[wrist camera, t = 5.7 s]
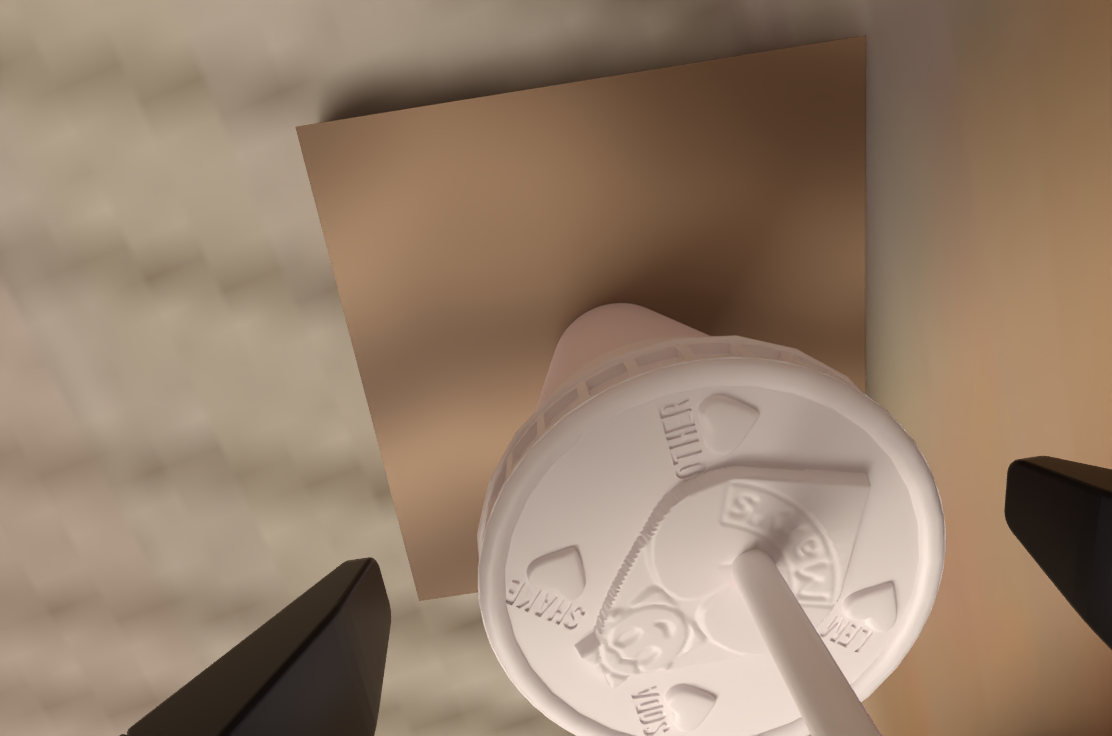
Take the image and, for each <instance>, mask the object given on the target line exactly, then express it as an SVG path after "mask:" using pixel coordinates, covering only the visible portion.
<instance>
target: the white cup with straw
mask: <svg viewBox="0 0 1112 736" xmlns="http://www.w3.org/2000/svg"><path fill="white" fill-rule="evenodd" d="M477 541H478V553H479V565H478V594H479V604H480V610H481V615H482V619H483V624H484V628H485V630H486V633H487V636H488V639H489V642H490V645H491V647H492V649H493V651H494V653H495V655H496V657H497V659H498V661H499V663H500V665H501V666H502V668H503V669H504V671H505V673H506V674H507V676H508V677H509V679H510V680H511V681H512V682H513V684H514V685H515V686H516V687H517V689H518V690H519V691H520V692H521V694H522V695H523V696H524V697H525V698H526V699H527V700H528V701H529V702H530V703H531V704H532V705H533V706H534V707H536V708H537V709H538V710H539V711H540V712H542V713H543V714H544V715H545V716H546V717H548V718H549V719H550V720H552V721H553V722H555V723H556V724H558V725H559V726H561V727H562V728H564V729H565V730H567V731H569V732H571V733H573V734H574V735H576V736H808V735H810V734H811V736H882V735H881V734H880V732H879V731H878V729H877V727H876V726H875V724H874V723H873V721H872V719H871V718H870V716H869V715H868V713H867V711H866V710H865V708H864V706H863V705H862V703H861V702H862V701H863V700H865V699H866V698H867V697H869V696H870V695H871V694H872V693H873V692H874V691H875V690H876V689H877V688H878V687H879V686H880V685H881V683H882V682H884V681H885V679H886V678H887V677H888V676H889V675H890V674H891V673H892V672H893V671H894V670H895V669H896V668H897V667H898V666H899V664H900V663H901V661H902V660H903V658H904V657H905V655H906V654H907V653H908V651H909V650H910V649H911V647H912V645H913V644H914V642H915V641H916V639H917V638H918V636H919V635H920V633H921V631H922V629H923V627H924V625H925V623H926V621H927V619H928V617H929V615H930V612H931V609H932V607H933V604H934V602H935V599H936V597H937V593H938V589H939V585H940V582H941V578H942V573H943V566H944V560H945V545H946V532H945V518H944V512H943V507H942V502H941V497H940V494H939V491H938V487H937V484H936V481H935V478H934V476H933V474H932V472H931V469H930V467H929V465H928V463H927V461H926V459H925V457H924V456H923V454H922V452H921V451H920V449H919V447H918V446H917V444H916V443H915V441H914V440H913V439H912V437H911V436H910V435H909V434H908V432H907V431H906V430H905V429H904V427H903V426H902V425H901V424H900V423H899V422H898V421H897V420H896V419H895V418H894V417H893V416H892V415H891V414H890V413H889V412H888V411H887V410H886V409H884V408H883V407H882V406H880V405H879V404H878V403H877V402H875V401H874V400H873V399H871V398H870V397H869V396H867V395H866V394H864V393H863V392H862V391H861V390H860V389H859V388H858V387H857V386H856V385H855V384H854V383H853V382H852V381H851V380H850V379H849V378H848V377H847V376H846V375H844V374H842V373H840V372H838V371H836V370H835V369H833V368H831V367H829V366H827V365H825V364H823V363H822V362H820V361H818V360H816V359H814V358H812V357H811V356H809V355H807V354H805V353H803V352H801V351H799V350H798V349H796V348H791V347H786V346H782V345H777V344H773V343H768V342H764V341H759V340H755V339H750V338H746V337H741V336H736V335H733V336H709V335H707V334H705V333H702V332H700V331H698V330H696V329H693V328H691V327H689V326H686V325H684V324H682V323H680V322H677V321H675V320H673V319H670V318H668V317H666V316H664V315H661V314H659V313H657V312H654V311H652V310H650V309H647V308H645V307H642V306H639V305H635V304H629V303H613V304H607V305H603V306H599V307H596V308H594V309H592V310H590V311H588V312H586V313H584V314H583V315H581V316H580V317H578V318H577V319H576V320H575V321H574V322H572V323H571V325H570V326H569V327H568V328H567V329H566V330H565V332H564V333H563V335H562V336H561V338H560V340H559V342H558V344H557V346H556V349H555V352H554V355H553V358H552V361H551V364H550V367H549V370H548V373H547V376H546V380H545V383H544V386H543V389H542V392H541V395H540V398H539V401H538V404H537V407H536V410H535V413H534V414H533V415H532V416H531V417H530V418H529V419H528V420H527V421H526V422H525V423H524V424H523V425H522V426H521V427H520V428H519V429H518V430H517V432H516V433H515V435H514V436H513V438H512V440H511V442H510V444H509V445H508V447H507V449H506V451H505V453H504V455H503V456H502V458H501V460H500V462H499V464H498V465H497V467H496V469H495V471H494V473H493V475H492V476H491V478H490V480H489V482H488V486H487V491H486V495H485V500H484V504H483V509H482V513H481V518H480V522H479V527H478V531H477Z"/></svg>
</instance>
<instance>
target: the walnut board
mask: <svg viewBox="0 0 1112 736" xmlns="http://www.w3.org/2000/svg"><path fill="white" fill-rule="evenodd" d="M296 131H297V135H298V138H299V142H300V146H301V150H302V154H303V158H304V161H305V165H306V169H307V173H308V177H309V180H310V184H311V188H312V192H313V196H314V200H315V203H316V207H317V211H318V215H319V219H320V223H321V226H322V230H323V234H324V238H325V242H326V246H327V249H328V253H329V257H330V261H331V265H332V269H333V272H334V276H335V280H336V284H337V288H338V292H339V295H340V299H341V303H342V307H343V311H344V315H345V318H346V322H347V326H348V330H349V334H350V338H351V341H352V345H353V349H354V353H355V357H356V360H357V364H358V368H359V372H360V376H361V380H362V383H363V387H364V391H365V395H366V399H367V403H368V406H369V410H370V414H371V418H372V422H373V426H374V429H375V433H376V437H377V441H378V445H379V449H380V452H381V456H382V460H383V464H384V468H385V472H386V475H387V479H388V483H389V487H390V491H391V495H392V498H393V502H394V506H395V510H396V514H397V518H398V521H399V525H400V529H401V533H402V537H403V540H404V544H405V548H406V552H407V556H408V560H409V563H410V567H411V571H412V575H413V579H414V583H415V586H416V590H417V594H418V598H419V601H422V600H429V599H435V598H442V597H449V596H455V595H462V594H469V593H475V592H478V565H479V553H478V541H477V531H478V527H479V522H480V518H481V513H482V509H483V504H484V500H485V495H486V491H487V486H488V482H489V480H490V478H491V476H492V475H493V473H494V471H495V469H496V467H497V465H498V464H499V462H500V460H501V458H502V456H503V455H504V453H505V451H506V449H507V447H508V445H509V444H510V442H511V440H512V438H513V436H514V435H515V433H516V432H517V430H518V429H519V428H520V427H521V426H522V425H523V424H524V423H525V422H526V421H527V420H528V419H529V418H530V417H531V416H532V415H533V414H534V413H535V410H536V407H537V404H538V401H539V398H540V395H541V392H542V389H543V386H544V383H545V380H546V376H547V373H548V370H549V367H550V364H551V361H552V358H553V355H554V352H555V349H556V346H557V344H558V342H559V340H560V338H561V336H562V335H563V333H564V332H565V330H566V329H567V328H568V327H569V326H570V325H571V323H572V322H574V321H575V320H576V319H577V318H578V317H580V316H581V315H583V314H584V313H586V312H588V311H590V310H592V309H594V308H596V307H599V306H603V305H607V304H613V303H629V304H635V305H639V306H642V307H645V308H647V309H650V310H652V311H654V312H657V313H659V314H661V315H664V316H666V317H668V318H670V319H673V320H675V321H677V322H680V323H682V324H684V325H686V326H689V327H691V328H693V329H696V330H698V331H700V332H702V333H705V334H707V335H709V336H733V335H736V336H741V337H746V338H750V339H755V340H759V341H764V342H768V343H773V344H777V345H782V346H786V347H791V348H796V349H798V350H799V351H801V352H803V353H805V354H807V355H809V356H811V357H812V358H814V359H816V360H818V361H820V362H822V363H823V364H825V365H827V366H829V367H831V368H833V369H835V370H836V371H838V372H840V373H842V374H844V375H846V376H847V377H848V378H849V379H850V380H851V381H852V382H853V383H854V384H855V385H856V386H857V387H858V388H859V389H860V390H861V391H862V392H863V393H864V394H866V35H863V36H857V37H851V38H845V39H839V40H832V41H826V42H820V43H814V44H807V45H801V46H795V47H789V48H783V49H776V50H770V51H764V52H758V53H752V54H745V55H739V56H733V57H727V58H720V59H714V60H708V61H702V62H696V63H689V64H683V65H677V66H671V67H665V68H658V69H652V70H646V71H640V72H633V73H627V74H621V75H615V76H609V77H602V78H596V79H590V80H584V81H578V82H571V83H565V84H559V85H553V86H546V87H540V88H534V89H528V90H522V91H515V92H509V93H503V94H497V95H491V96H484V97H478V98H472V99H466V100H459V101H453V102H447V103H441V104H435V105H428V106H422V107H416V108H410V109H403V110H397V111H391V112H385V113H379V114H372V115H366V116H360V117H354V118H348V119H341V120H335V121H329V122H323V123H316V124H310V125H304V126H298V127H296Z"/></svg>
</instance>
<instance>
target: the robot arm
mask: <svg viewBox="0 0 1112 736" xmlns="http://www.w3.org/2000/svg"><path fill="white" fill-rule="evenodd" d="M1005 518H1006V521H1007V524H1008V526H1009V528H1010V530H1011V531H1012V532H1013V534H1014V535H1015V536H1016V537H1017V539H1018V540H1019V541H1020V542H1021V544H1022V545H1023V546H1024V547H1025V549H1026V550H1027V551H1028V552H1029V554H1030V555H1031V556H1032V557H1033V559H1034V560H1035V561H1036V562H1037V564H1038V565H1039V566H1040V567H1041V569H1042V570H1043V571H1044V572H1045V573H1046V575H1047V576H1048V577H1049V578H1050V580H1051V581H1052V582H1053V583H1054V585H1055V586H1056V587H1057V588H1058V590H1059V591H1060V592H1061V593H1062V595H1063V596H1064V597H1065V598H1066V600H1067V601H1068V602H1069V603H1070V605H1071V606H1072V607H1073V608H1074V609H1075V611H1076V612H1077V613H1078V614H1079V615H1080V616H1081V618H1082V619H1083V620H1084V621H1085V622H1086V623H1087V624H1088V626H1089V627H1090V628H1091V629H1092V630H1093V631H1094V632H1095V633H1096V634H1097V635H1098V636H1099V637H1100V639H1101V640H1102V641H1103V642H1104V643H1105V644H1106V645H1107V646H1108V647H1109V648H1110V649H1111V650H1112V469H1107V468H1102V467H1097V466H1092V465H1087V464H1083V463H1078V462H1073V461H1068V460H1063V459H1059V458H1054V457H1049V456H1036V457H1030V458H1023V459H1018V460H1015V461H1013V462H1012V463H1011V464H1010V466H1009V468H1008V472H1007V485H1006V498H1005ZM390 625H391V609H390V604H389V600H388V596H387V593H386V589H385V586H384V582H383V579H382V575H381V571H380V568H379V565H378V563H377V561H376V560H375V559H374V558H362V559H355V560H348V561H346V562H344V563H342V564H341V565H340V566H338V567H337V568H336V569H335V570H333V571H332V572H331V573H329V574H328V575H327V576H325V577H324V578H323V579H322V580H320V581H319V582H318V583H316V584H315V585H314V586H313V587H311V588H310V589H309V590H307V591H306V592H305V593H303V594H302V595H301V596H300V597H298V598H297V599H296V600H294V601H293V602H292V603H291V604H289V605H288V606H287V607H285V608H284V609H283V610H282V611H280V612H279V613H278V614H276V615H275V616H274V617H272V618H271V619H270V620H269V621H267V622H266V623H265V624H263V625H262V626H261V627H260V628H258V629H257V630H256V631H254V632H253V633H252V634H250V635H249V636H248V637H247V638H245V639H244V640H243V641H241V642H240V643H239V644H238V645H236V646H235V647H234V648H232V649H231V650H230V651H229V652H227V653H226V654H225V655H223V656H222V657H221V658H219V659H218V660H217V661H216V662H214V663H213V664H212V665H210V666H209V667H208V668H207V669H205V670H204V671H203V672H201V673H200V674H199V675H197V676H196V677H195V678H194V679H192V680H191V681H190V682H188V683H187V684H186V685H185V686H183V687H182V688H181V689H179V690H178V691H177V692H175V693H174V694H173V695H172V696H170V697H169V698H168V699H166V700H165V701H164V702H163V703H161V704H160V705H159V706H157V707H156V708H155V709H154V710H152V711H151V712H150V713H148V714H147V715H146V716H144V717H143V718H142V719H141V720H139V721H138V722H137V723H135V724H134V725H133V726H132V727H130V728H129V729H128V731H127V735H125V734H121V735H120V736H374V734H375V730H376V725H377V719H378V713H379V706H380V699H381V692H382V684H383V677H384V670H385V662H386V655H387V648H388V640H389V633H390Z"/></svg>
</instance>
